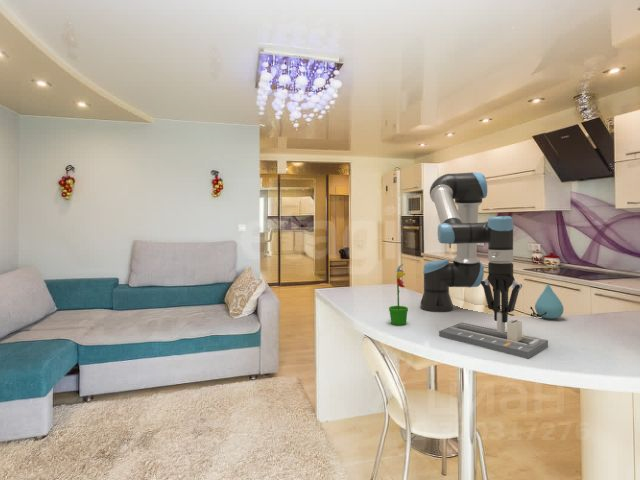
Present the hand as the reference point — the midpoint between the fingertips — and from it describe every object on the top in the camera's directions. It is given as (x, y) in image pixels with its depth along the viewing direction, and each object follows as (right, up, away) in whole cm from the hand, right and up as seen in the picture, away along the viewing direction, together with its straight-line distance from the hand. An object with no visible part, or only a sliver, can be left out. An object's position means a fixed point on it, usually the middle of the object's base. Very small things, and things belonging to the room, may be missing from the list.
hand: (500, 331), depth 119 cm
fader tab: (+3, -2, -3) cm, 5 cm away
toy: (+36, -3, +31) cm, 47 cm away
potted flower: (-29, -4, +28) cm, 40 cm away
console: (-2, -4, +3) cm, 5 cm away
